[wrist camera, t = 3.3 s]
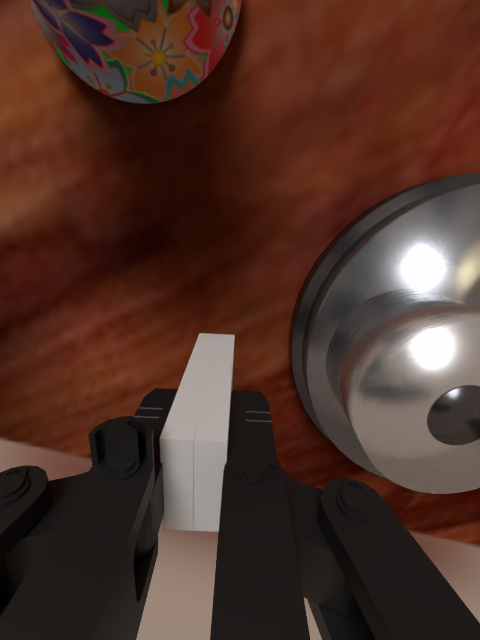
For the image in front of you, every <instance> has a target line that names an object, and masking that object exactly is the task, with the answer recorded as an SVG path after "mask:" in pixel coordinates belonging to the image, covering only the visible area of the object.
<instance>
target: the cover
mask: <svg viewBox="0 0 480 640" xmlns="http://www.w3.org/2000/svg"><path fill="white" fill-rule="evenodd" d="M326 374H327V378H328V382H329V384H330V387H331V389H332V391H333V393H334V395H335V397H336V398H337V400H338V402H339V404H340V406H341V408H342V409H343V411H344V413H345V415H346V417H347V419H348V421H349V422H350V424H351V426H352V428H353V430H354V432H355V434H356V435H357V437H358V439H359V441H360V443H361V445H362V447H363V448H364V450H365V452H366V454H367V456H368V457H369V459H370V461H371V462H372V464H373V465H374V466H375V467H376V469H377V470H378V471H379V472H381V473H382V474H383V475H384V476H385V477H387V478H388V479H390V480H391V481H393V482H394V483H396V484H398V485H401V486H403V487H405V488H408V489H411V490H415V491H420V492H424V493H435V494H449V493H458V492H464V491H469V490H474V489H477V488H480V309H479V308H476V307H473V306H471V305H468V304H465V303H462V302H460V301H457V300H454V299H452V298H449V297H446V296H444V295H441V294H438V293H436V292H433V291H429V290H425V289H416V288H404V289H397V290H392V291H388V292H385V293H382V294H379V295H377V296H374V297H372V298H371V299H369V300H367V301H365V302H363V303H362V304H361V305H359V306H358V307H356V308H355V309H354V310H353V311H352V312H351V313H349V314H348V315H347V317H346V318H345V319H344V320H343V321H342V322H341V324H340V325H339V326H338V328H337V329H336V331H335V333H334V335H333V337H332V339H331V341H330V344H329V347H328V351H327V355H326Z"/></svg>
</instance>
